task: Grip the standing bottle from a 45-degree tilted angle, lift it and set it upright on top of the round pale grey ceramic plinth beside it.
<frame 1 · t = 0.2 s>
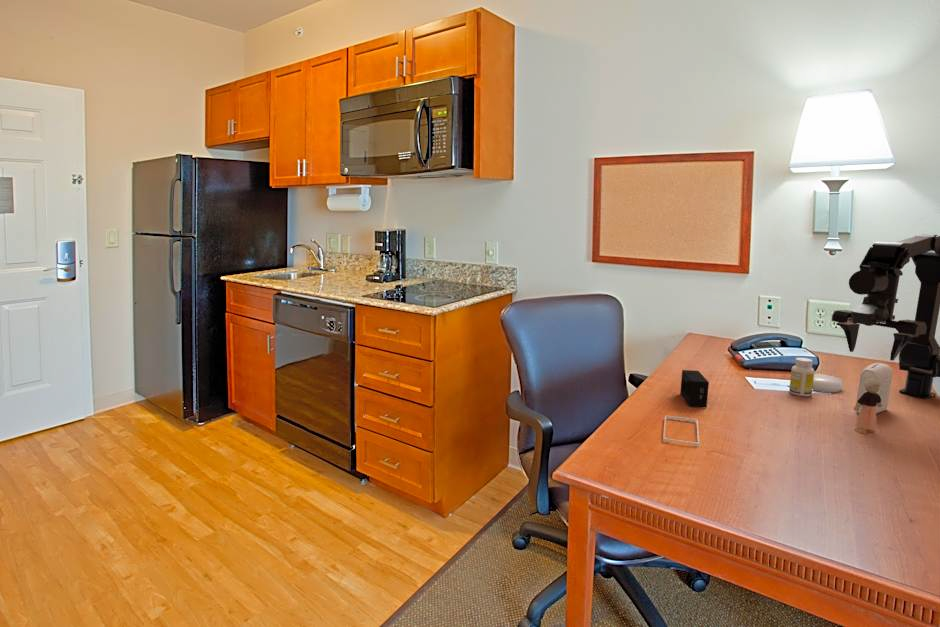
hand: (871, 355, 141), 14 cm above the table, tool pointing down, fingers open, 9 cm apart
phone case: (680, 434, 129), on the table
plinth: (820, 386, 162), on the table
grandmother figurine: (865, 431, 130), on the table
photo printer: (870, 411, 143), on the table
supplement bottle: (799, 394, 156), on the table
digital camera: (690, 401, 150), on the table
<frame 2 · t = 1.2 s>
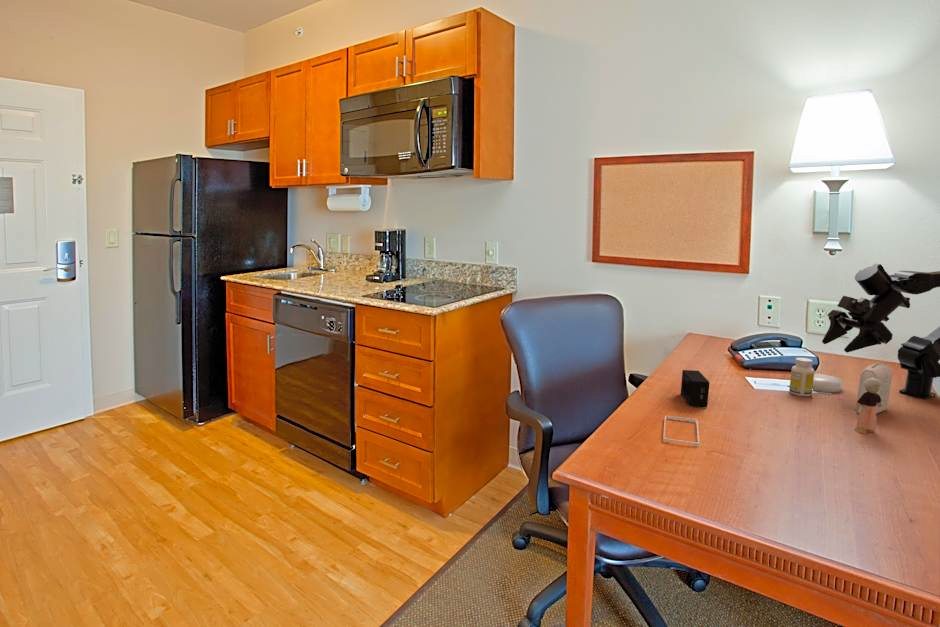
hand: (833, 347, 154), 13 cm above the table, tool tilted 45°, fingers open, 9 cm apart
nothing on the table moved.
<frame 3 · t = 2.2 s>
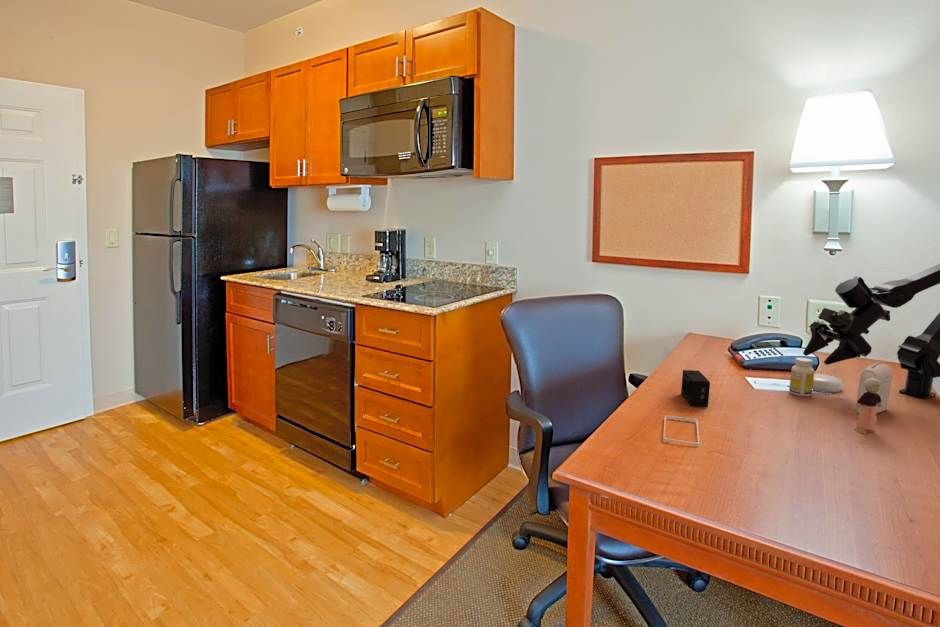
hand: (814, 358, 154), 10 cm above the table, tool tilted 45°, fingers open, 9 cm apart
nothing on the table moved.
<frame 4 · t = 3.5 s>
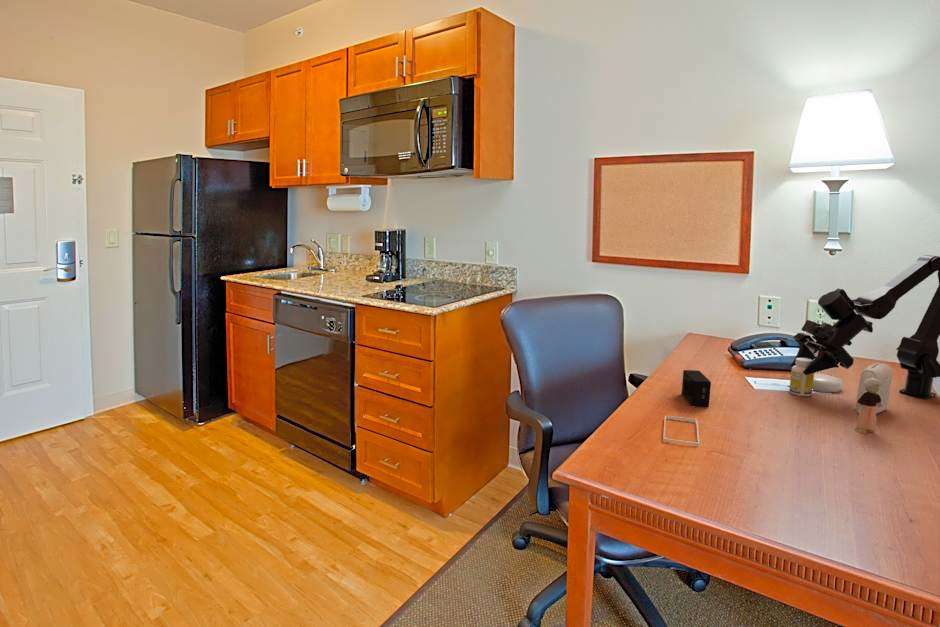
hand: (797, 370, 155), 7 cm above the table, tool tilted 45°, fingers closed on supplement bottle, 5 cm apart
supplement bottle: (799, 394, 156), on the table, touching gripper
everything else where it was.
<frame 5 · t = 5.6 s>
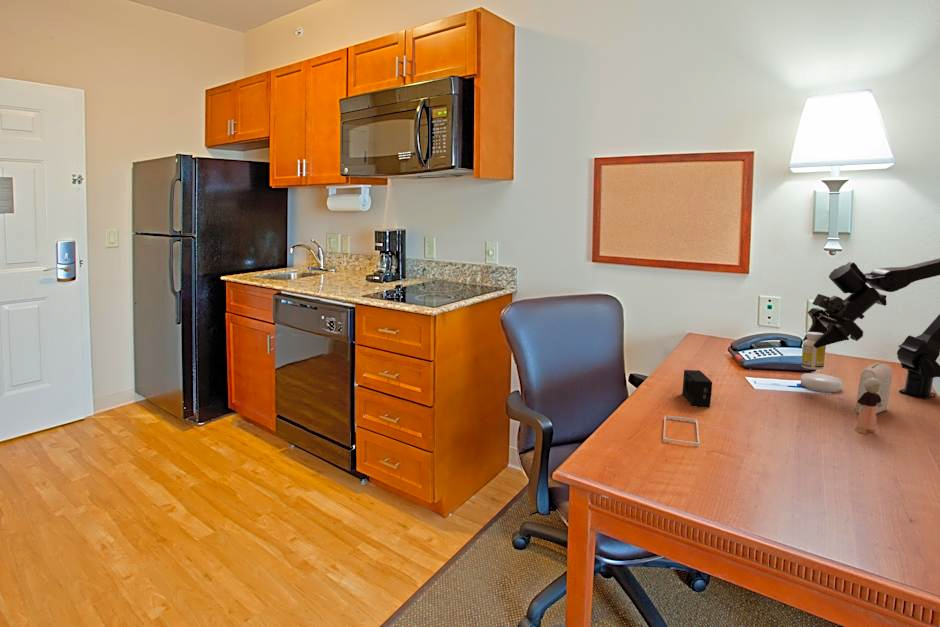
hand: (809, 344, 157), 13 cm above the table, tool tilted 45°, fingers closed on supplement bottle, 5 cm apart
supplement bottle: (812, 368, 158), point 6 cm above the table, touching gripper
everything else where it was.
when the fingers open (10 cm above the table, at t = 7.2 s): supplement bottle drops 1 cm, resting on plinth.
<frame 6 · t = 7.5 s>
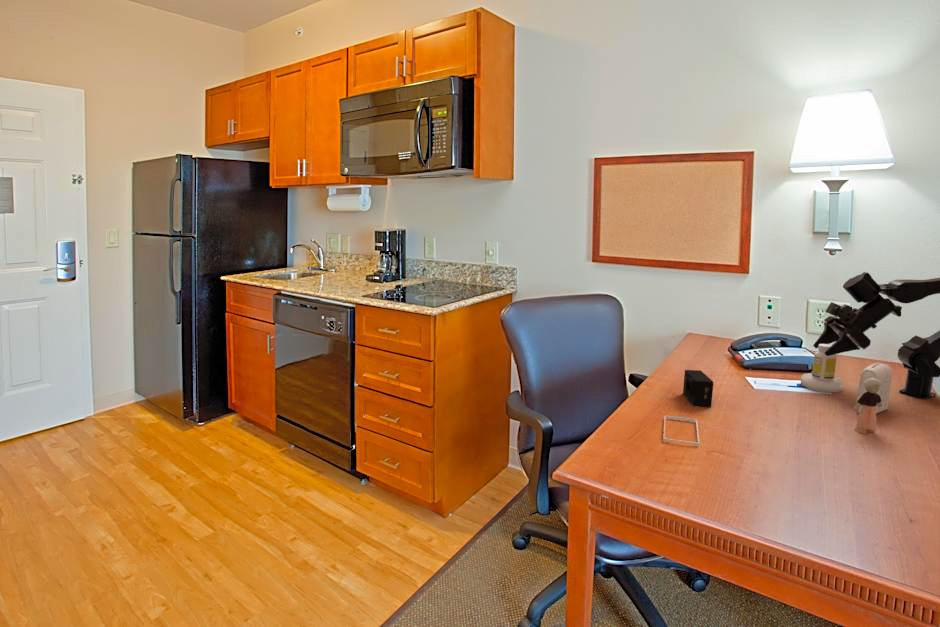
hand: (819, 350, 161), 11 cm above the table, tool tilted 45°, fingers open, 9 cm apart
supplement bottle: (822, 379, 162), point 2 cm above the table, touching plinth
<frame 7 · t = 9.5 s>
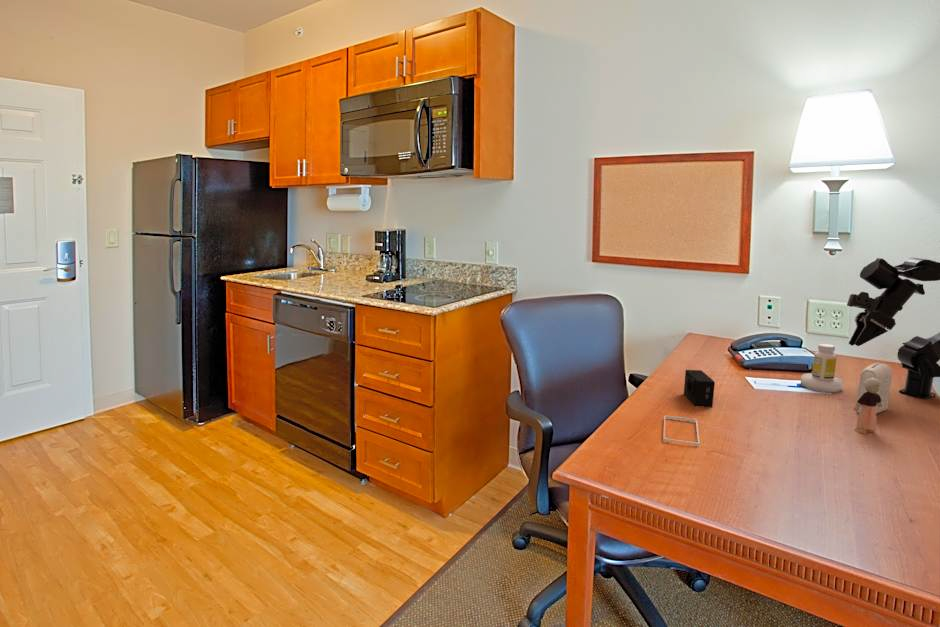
hand: (853, 344, 157), 13 cm above the table, tool tilted 30°, fingers open, 9 cm apart
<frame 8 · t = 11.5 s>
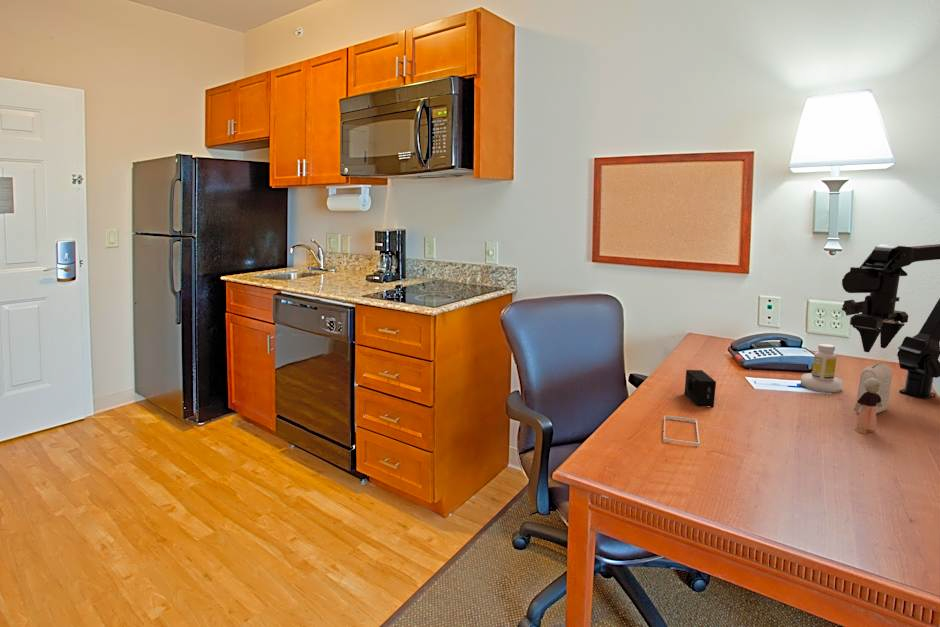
hand: (874, 349, 152), 13 cm above the table, tool pointing down, fingers open, 9 cm apart
at the end: supplement bottle 0.2 cm off-centre on the plinth, point 2.3 cm above the plinth's base; supplement bottle tilted 0°; the gripper is holding nothing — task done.
